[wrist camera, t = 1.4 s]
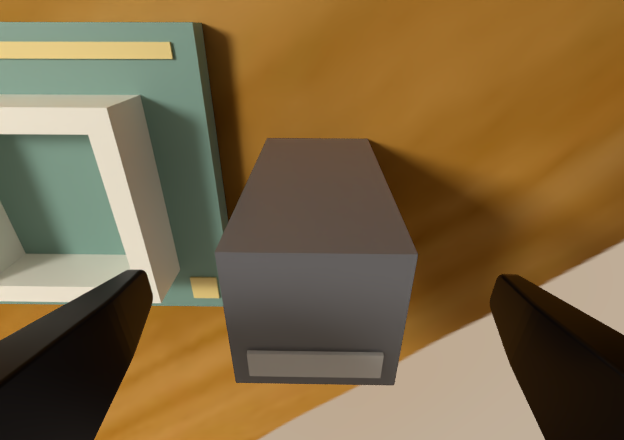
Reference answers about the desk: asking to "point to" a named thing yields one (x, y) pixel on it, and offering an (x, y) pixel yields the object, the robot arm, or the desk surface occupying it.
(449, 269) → the desk surface
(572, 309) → the robot arm
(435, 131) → the desk surface
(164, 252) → the socket
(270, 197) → the plug
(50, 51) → the board
